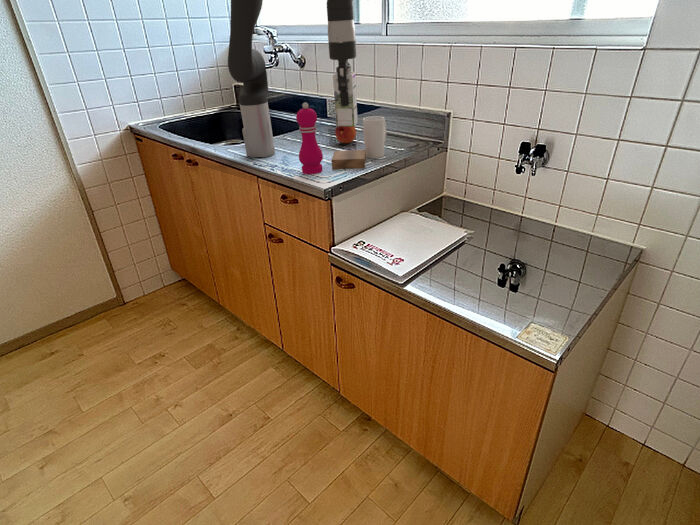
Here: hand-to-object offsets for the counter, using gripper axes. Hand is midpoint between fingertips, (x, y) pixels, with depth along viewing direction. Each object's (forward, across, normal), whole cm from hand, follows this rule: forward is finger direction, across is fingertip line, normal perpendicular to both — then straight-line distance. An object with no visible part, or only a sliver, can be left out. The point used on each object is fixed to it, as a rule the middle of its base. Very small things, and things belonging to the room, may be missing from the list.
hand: (345, 103), depth 125 cm
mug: (+18, -9, +9) cm, 22 cm away
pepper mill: (+18, +6, -11) cm, 22 cm away
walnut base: (+18, 0, 0) cm, 18 cm away
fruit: (+18, -26, -3) cm, 32 cm away
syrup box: (+6, 0, 0) cm, 6 cm away
